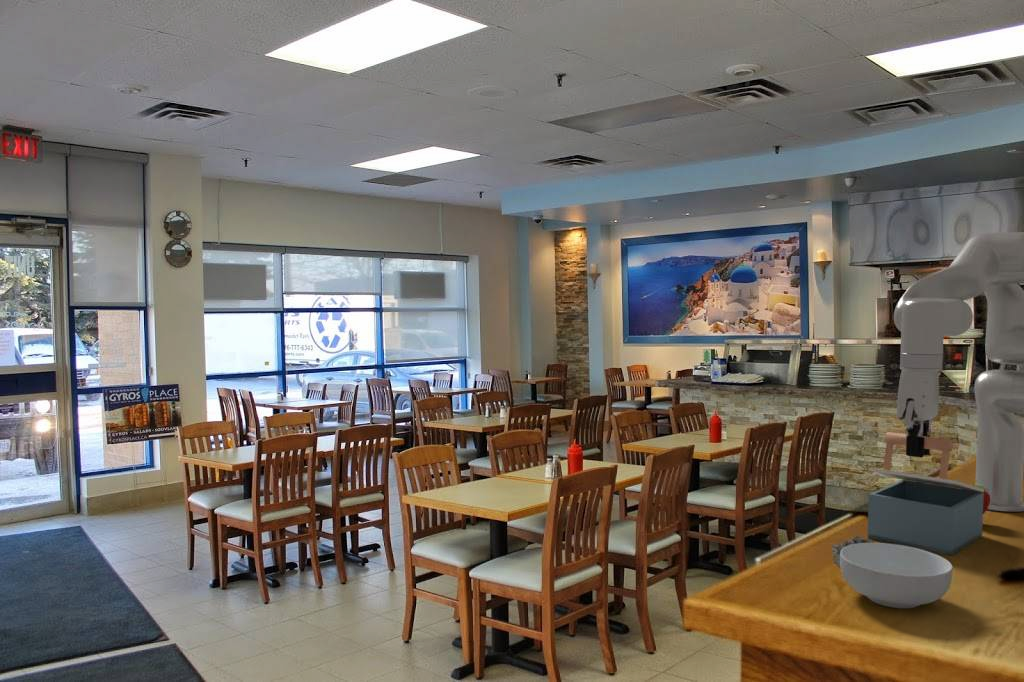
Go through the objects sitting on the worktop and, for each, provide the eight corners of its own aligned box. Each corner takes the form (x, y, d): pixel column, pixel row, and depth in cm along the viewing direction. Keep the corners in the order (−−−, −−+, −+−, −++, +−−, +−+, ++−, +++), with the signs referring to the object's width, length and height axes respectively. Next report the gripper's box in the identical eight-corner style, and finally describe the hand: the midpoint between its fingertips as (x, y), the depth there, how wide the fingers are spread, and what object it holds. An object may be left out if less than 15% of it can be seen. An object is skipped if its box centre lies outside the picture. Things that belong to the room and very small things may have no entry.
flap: (902, 479, 186) (907, 441, 187) (983, 492, 175) (988, 451, 176) (870, 470, 174) (875, 429, 175) (955, 483, 162) (960, 440, 163)
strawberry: (993, 522, 186) (995, 476, 185) (983, 529, 180) (985, 482, 179) (963, 517, 190) (965, 472, 189) (953, 524, 184) (955, 478, 183)
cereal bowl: (896, 626, 129) (898, 580, 129) (816, 590, 145) (817, 549, 144) (975, 609, 136) (977, 566, 136) (891, 576, 151) (892, 537, 151)
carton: (901, 520, 187) (902, 479, 186) (981, 535, 176) (983, 492, 175) (867, 537, 174) (868, 494, 174) (951, 555, 163) (953, 508, 162)
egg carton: (864, 575, 153) (865, 553, 153) (826, 564, 159) (826, 542, 158) (894, 562, 160) (895, 541, 159) (856, 552, 165) (857, 531, 165)
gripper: (916, 359, 177) (913, 447, 178) (885, 363, 166) (882, 458, 167) (955, 361, 172) (951, 452, 173) (926, 366, 160) (922, 464, 162)
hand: (917, 454), depth 170 cm, fingers closed on flap, 2 cm apart
